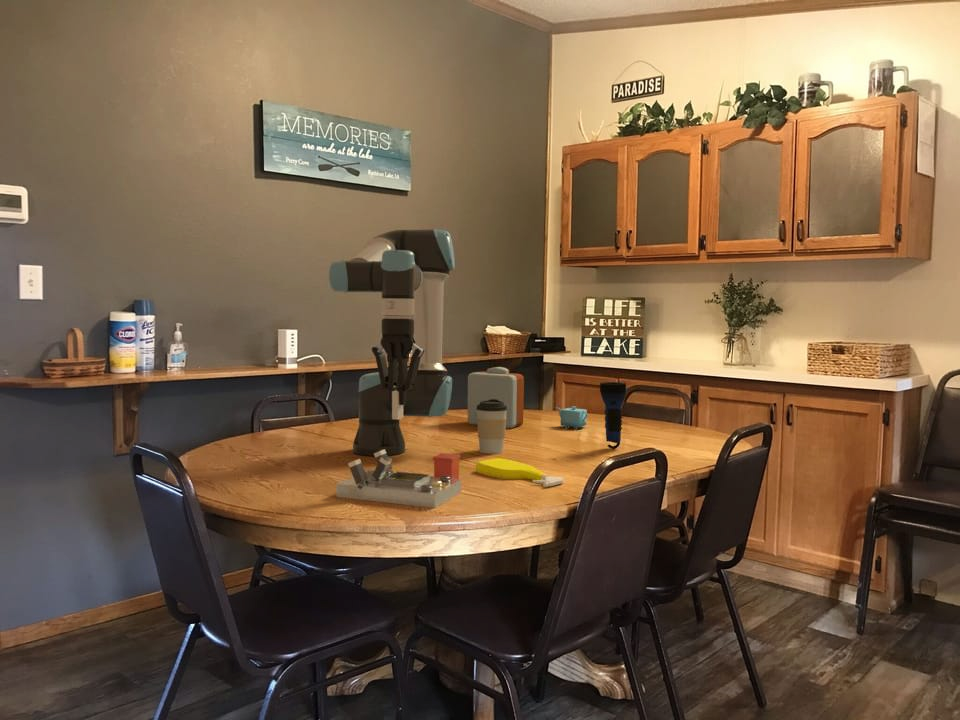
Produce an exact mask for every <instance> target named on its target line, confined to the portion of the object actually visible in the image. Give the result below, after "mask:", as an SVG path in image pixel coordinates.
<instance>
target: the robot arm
mask: <svg viewBox="0 0 960 720" xmlns="http://www.w3.org/2000/svg"><path fill="white" fill-rule="evenodd" d="M451 236H452V235H451V234H450V232H449V231H447V230H445V229H444V230H443V229H434V228H433V229H396V230H390V231H387V232H384V233H381V234H379V235H376V236H374V237H373V238H371V239H370V240H369V241H368V242H367V243H365V246H364V248H363V250H362V251H359V253H357V254H356V255H355V256H353V257H352V258H351V259H350V260H337V261H332V262H331V263H330V266H329V272H328V280H329V284H330V288H331V290H332V291H334V292H342V293H381V315H382V316H383V317H384V318H382V319H381V335H382V337H381V339H380V343H379V344H377V345H376V346H373V347H372V348H371V351H372V353H373V355H374V357H375V361H376V366H377V372H371V373H365V374H364V375H362V376H360V378H359V383H358V391H357V392H358V426H357V427H358V428H357V430H356V434H355V437H354V440H353V443H352V452H353V454H356V455H360V456H369V457H375V456H374V453H376V452H379V451H381V450H384V449H385V451H386V454H387V456H394V455H395V456H396V455H400V454H402V453H405V451H406V442H405V438H404V436H403V432H402V429H401V425H400V420H401V419H404V417H428V418H432V417H434V418H435V417H443V416H445V415H446V414H447V412H448V410H449V407H450V403H451V398H452V391H453V378H452V377H451V376H450V375H448V370H447V369H446V367H445V366H444V365H443V340H444V339H443V336H444V335H443V334H444V333H443V331H444V294H445V293H444V289H445V288H444V287H445V282H446V281H447V280H448V279H449V277H450V272H452V271H454V270H455V267H456V266H455V260H456V259H455V252H454V251H455V250H454V245H453V244H454V243H453V241H452V237H451ZM412 317H413V318H412ZM385 353H386V355H385ZM410 353H411V357H410V361H409V355H410ZM408 361H409V366H408Z"/></svg>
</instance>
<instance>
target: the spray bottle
mask: <svg viewBox="0 0 960 720" xmlns="http://www.w3.org/2000/svg"><path fill="white" fill-rule="evenodd" d="M475 471H476V473H478V474H481V475H484V476H488V477H492V478H495V479H500V480H501V479H502V480H503V479H504V480H521V479H522V480H523V479H525V480H526V479H527V480H530V481H531V480H532V483H537V484H542V486H543V488H550V487H554V486H557V485H561V484H563V483H564V477H563V476H562V477H559V476H558V477H557V476H553V475H549V474H546V473H545V472H544V471H541V470H539V469H537V468H536V467H535V466H533V465H531V464H530V465H529V464H527V463H522V462H520V461H515V460H510V459H506V458H501V457H496V458H490V459H486V460H485V459H484V460H480V461H478V462H477V463H476V465H475Z"/></svg>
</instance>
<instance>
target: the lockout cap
mask: <svg viewBox="0 0 960 720" xmlns="http://www.w3.org/2000/svg"><path fill="white" fill-rule="evenodd" d="M460 459H461V454H454V453H444V452H441V453H439V454H436V455H434V456H432V461H434V462H433V463H434V465H433V470H434V471H433V477H440V476H450V478H453V479H460V476H459V475H460Z"/></svg>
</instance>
